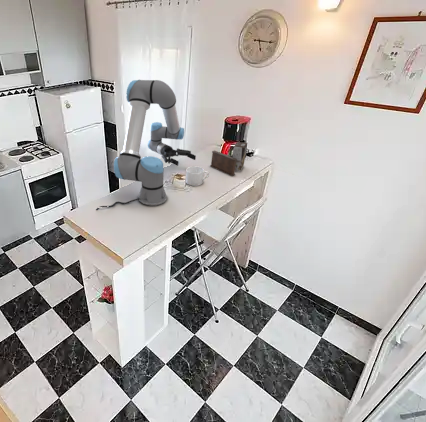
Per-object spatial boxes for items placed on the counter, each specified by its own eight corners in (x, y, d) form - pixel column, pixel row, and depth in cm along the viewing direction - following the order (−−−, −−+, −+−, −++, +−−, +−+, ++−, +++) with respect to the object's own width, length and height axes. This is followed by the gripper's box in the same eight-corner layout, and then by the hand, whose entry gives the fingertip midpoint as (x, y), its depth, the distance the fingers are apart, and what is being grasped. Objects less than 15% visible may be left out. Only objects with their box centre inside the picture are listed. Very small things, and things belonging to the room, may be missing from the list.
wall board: (210, 166, 192) (211, 151, 186) (213, 165, 193) (214, 150, 187) (231, 176, 178) (234, 160, 173) (235, 175, 180) (237, 159, 174)
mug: (183, 184, 173) (184, 172, 168) (187, 177, 181) (188, 165, 176) (206, 188, 168) (207, 175, 164) (209, 180, 176) (210, 167, 172)
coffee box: (240, 172, 182) (244, 147, 174) (229, 170, 185) (233, 146, 177) (243, 166, 189) (248, 142, 180) (233, 164, 192) (237, 141, 183)
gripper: (179, 151, 198) (201, 161, 183) (149, 160, 188) (170, 172, 173) (179, 140, 194) (202, 149, 179) (149, 149, 184) (170, 160, 168)
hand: (186, 160), depth 176 cm, fingers open, 13 cm apart
